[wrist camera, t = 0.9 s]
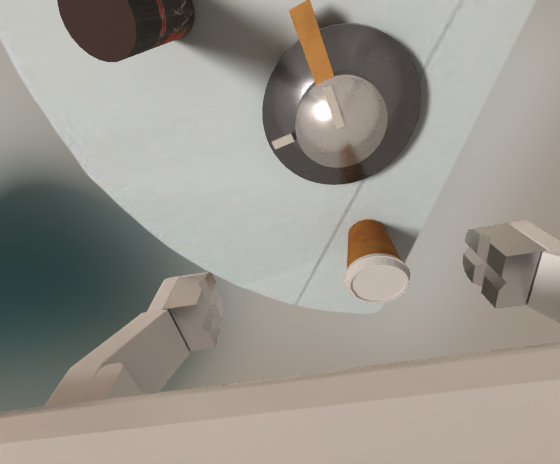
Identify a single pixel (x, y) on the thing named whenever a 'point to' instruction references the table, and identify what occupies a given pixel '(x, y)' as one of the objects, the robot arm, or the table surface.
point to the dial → (335, 104)
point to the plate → (355, 58)
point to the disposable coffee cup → (374, 264)
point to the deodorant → (125, 25)
